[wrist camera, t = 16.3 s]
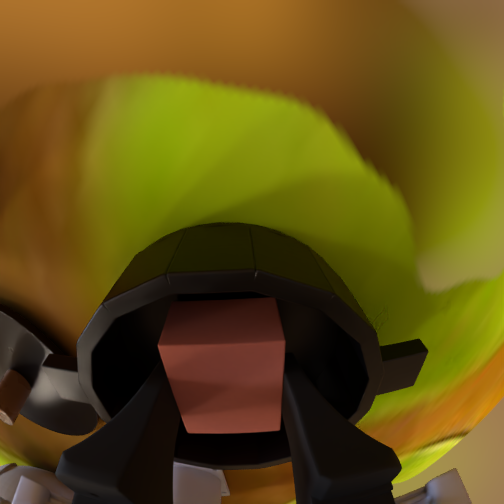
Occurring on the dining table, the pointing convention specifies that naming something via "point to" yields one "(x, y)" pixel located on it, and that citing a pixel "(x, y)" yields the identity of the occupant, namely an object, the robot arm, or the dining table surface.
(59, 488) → the decorative bowl
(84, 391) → the pan
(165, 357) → the reddish pink block
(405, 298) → the dining table surface
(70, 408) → the pan lid
